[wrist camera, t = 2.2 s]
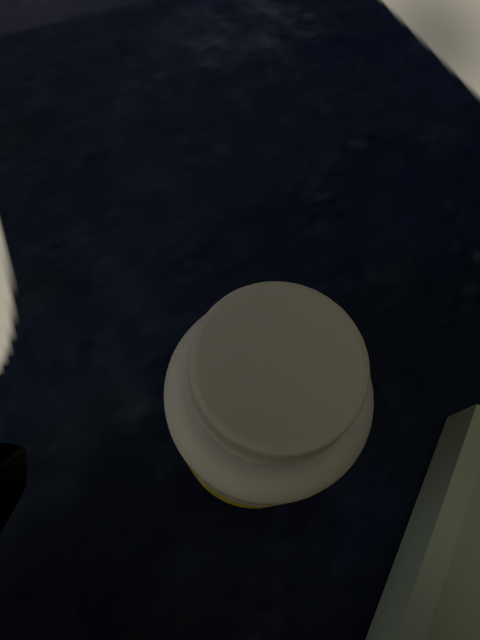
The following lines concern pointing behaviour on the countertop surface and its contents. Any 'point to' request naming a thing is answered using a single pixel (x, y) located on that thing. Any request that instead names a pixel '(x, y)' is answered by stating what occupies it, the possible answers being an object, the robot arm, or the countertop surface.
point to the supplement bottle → (270, 395)
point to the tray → (439, 547)
